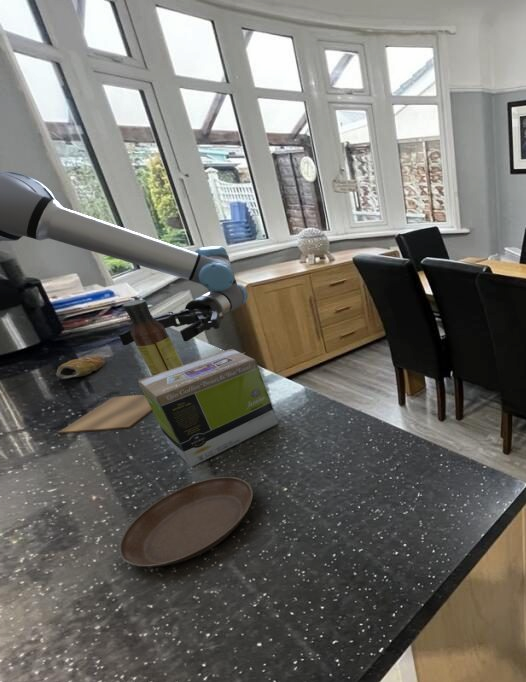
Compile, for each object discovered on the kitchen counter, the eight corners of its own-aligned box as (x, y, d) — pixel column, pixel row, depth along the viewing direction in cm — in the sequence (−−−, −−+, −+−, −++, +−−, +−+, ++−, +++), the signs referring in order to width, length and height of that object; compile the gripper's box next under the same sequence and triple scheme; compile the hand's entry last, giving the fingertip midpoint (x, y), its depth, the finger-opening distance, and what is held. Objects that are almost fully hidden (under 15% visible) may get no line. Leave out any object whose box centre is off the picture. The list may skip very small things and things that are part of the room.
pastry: (87, 363, 106) (81, 350, 105) (115, 361, 107) (109, 349, 105) (55, 380, 98) (47, 367, 96) (85, 378, 99) (78, 364, 97)
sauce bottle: (184, 369, 101) (153, 295, 93) (188, 377, 97) (156, 301, 89) (152, 378, 97) (116, 302, 89) (154, 387, 93) (117, 308, 85)
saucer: (239, 560, 51) (232, 545, 50) (99, 594, 47) (89, 579, 46) (269, 480, 64) (264, 467, 63) (161, 502, 60) (154, 489, 59)
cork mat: (59, 433, 77) (58, 432, 77) (113, 398, 89) (113, 396, 89) (129, 428, 78) (128, 426, 78) (174, 394, 90) (173, 392, 90)
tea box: (256, 409, 83) (233, 346, 77) (279, 425, 78) (257, 358, 72) (169, 448, 72) (135, 378, 66) (189, 470, 66) (154, 395, 60)
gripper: (257, 318, 115) (213, 348, 95) (166, 323, 113) (103, 355, 94) (249, 293, 112) (203, 319, 92) (156, 298, 110) (89, 326, 90)
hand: (153, 338), depth 93 cm, fingers open, 13 cm apart
